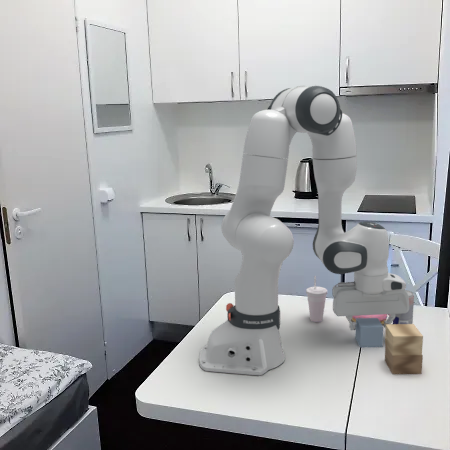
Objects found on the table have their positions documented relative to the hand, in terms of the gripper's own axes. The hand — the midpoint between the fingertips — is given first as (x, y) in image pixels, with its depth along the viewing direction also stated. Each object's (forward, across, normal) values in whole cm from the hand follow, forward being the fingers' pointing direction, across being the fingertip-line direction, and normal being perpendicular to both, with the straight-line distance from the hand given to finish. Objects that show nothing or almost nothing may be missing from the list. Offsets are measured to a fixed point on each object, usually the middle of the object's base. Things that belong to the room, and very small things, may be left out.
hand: (370, 328), depth 143 cm
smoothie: (+4, -12, +16) cm, 20 cm away
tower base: (+4, +4, -15) cm, 16 cm away
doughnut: (+4, +3, +14) cm, 15 cm away
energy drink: (+4, +11, +5) cm, 12 cm away
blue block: (+4, 0, -1) cm, 4 cm away
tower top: (-1, +4, -15) cm, 15 cm away
